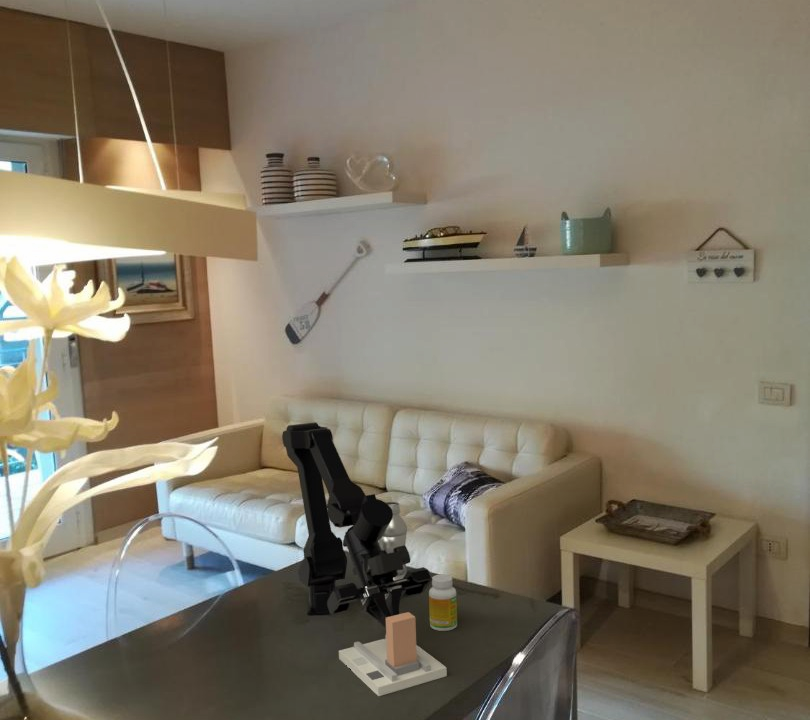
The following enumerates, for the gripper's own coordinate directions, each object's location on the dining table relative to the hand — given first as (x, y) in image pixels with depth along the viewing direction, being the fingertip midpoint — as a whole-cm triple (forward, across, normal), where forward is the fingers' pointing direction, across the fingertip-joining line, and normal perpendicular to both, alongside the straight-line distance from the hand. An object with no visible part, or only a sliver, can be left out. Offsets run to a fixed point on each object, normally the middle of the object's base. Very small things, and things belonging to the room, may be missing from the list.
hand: (397, 635), depth 139 cm
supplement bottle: (-4, +17, +14) cm, 22 cm away
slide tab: (+5, 0, +3) cm, 5 cm away
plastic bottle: (-18, +16, +28) cm, 37 cm away
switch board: (+3, 0, +7) cm, 7 cm away
